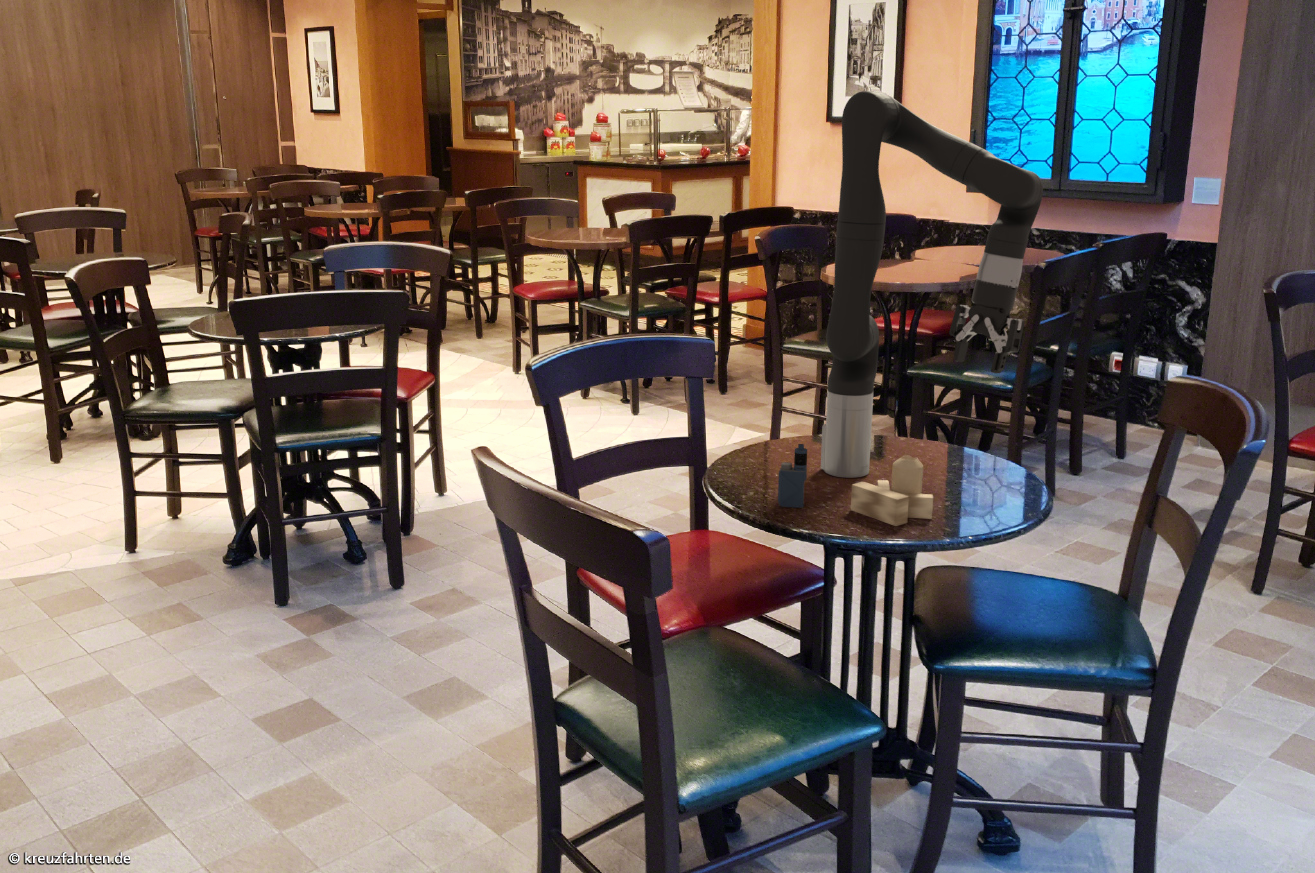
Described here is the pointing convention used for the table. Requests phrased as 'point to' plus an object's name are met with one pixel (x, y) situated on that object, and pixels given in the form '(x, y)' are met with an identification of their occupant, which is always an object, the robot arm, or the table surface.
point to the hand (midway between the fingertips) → (977, 367)
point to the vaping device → (793, 480)
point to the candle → (907, 475)
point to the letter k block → (889, 503)
